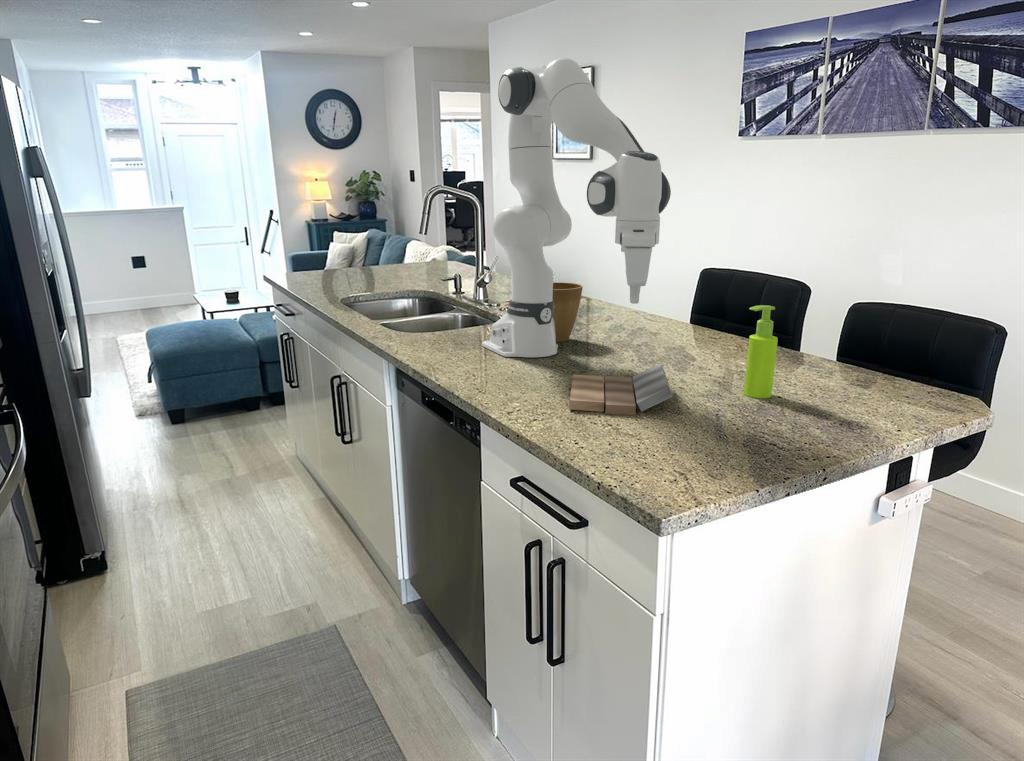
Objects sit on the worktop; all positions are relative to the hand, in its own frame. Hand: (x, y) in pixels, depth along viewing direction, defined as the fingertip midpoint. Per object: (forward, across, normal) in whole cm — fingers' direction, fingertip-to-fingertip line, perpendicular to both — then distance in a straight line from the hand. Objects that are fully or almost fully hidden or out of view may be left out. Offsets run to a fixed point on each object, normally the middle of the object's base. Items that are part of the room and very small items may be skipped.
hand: (634, 302), depth 151 cm
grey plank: (+19, -1, +5) cm, 20 cm away
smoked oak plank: (+21, -1, -9) cm, 23 cm away
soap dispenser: (+22, -9, +28) cm, 37 cm away
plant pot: (+20, -57, -20) cm, 64 cm away
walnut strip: (+21, -1, -2) cm, 21 cm away
